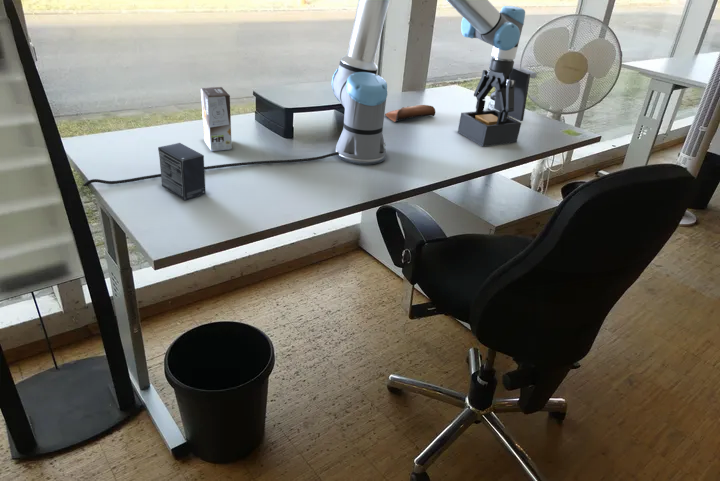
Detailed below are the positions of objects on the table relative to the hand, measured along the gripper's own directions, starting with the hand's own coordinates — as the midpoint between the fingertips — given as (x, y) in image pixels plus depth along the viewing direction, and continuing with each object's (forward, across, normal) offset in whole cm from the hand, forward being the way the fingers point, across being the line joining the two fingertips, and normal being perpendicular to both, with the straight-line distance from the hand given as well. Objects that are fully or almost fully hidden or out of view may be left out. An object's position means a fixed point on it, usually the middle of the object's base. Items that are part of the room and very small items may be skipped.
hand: (488, 124), depth 188 cm
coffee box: (+5, +17, +89) cm, 91 cm away
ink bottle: (+5, +22, -25) cm, 34 cm away
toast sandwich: (+4, 0, 0) cm, 4 cm away
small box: (+6, -10, +105) cm, 105 cm away
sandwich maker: (+5, 0, -1) cm, 5 cm away
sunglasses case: (+5, +25, +15) cm, 30 cm away
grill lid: (-11, 0, -7) cm, 13 cm away
